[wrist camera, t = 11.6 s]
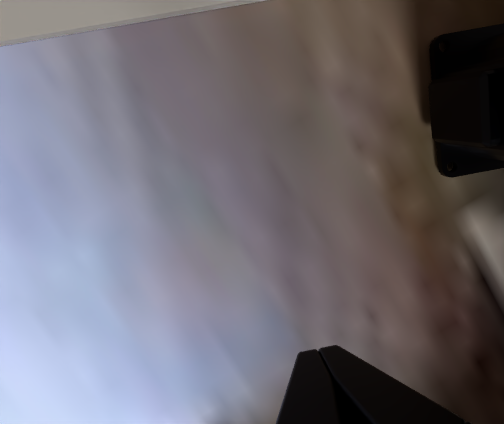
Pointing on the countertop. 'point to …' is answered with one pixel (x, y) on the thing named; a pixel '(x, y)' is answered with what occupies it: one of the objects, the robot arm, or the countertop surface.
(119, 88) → the countertop surface
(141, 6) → the base board
